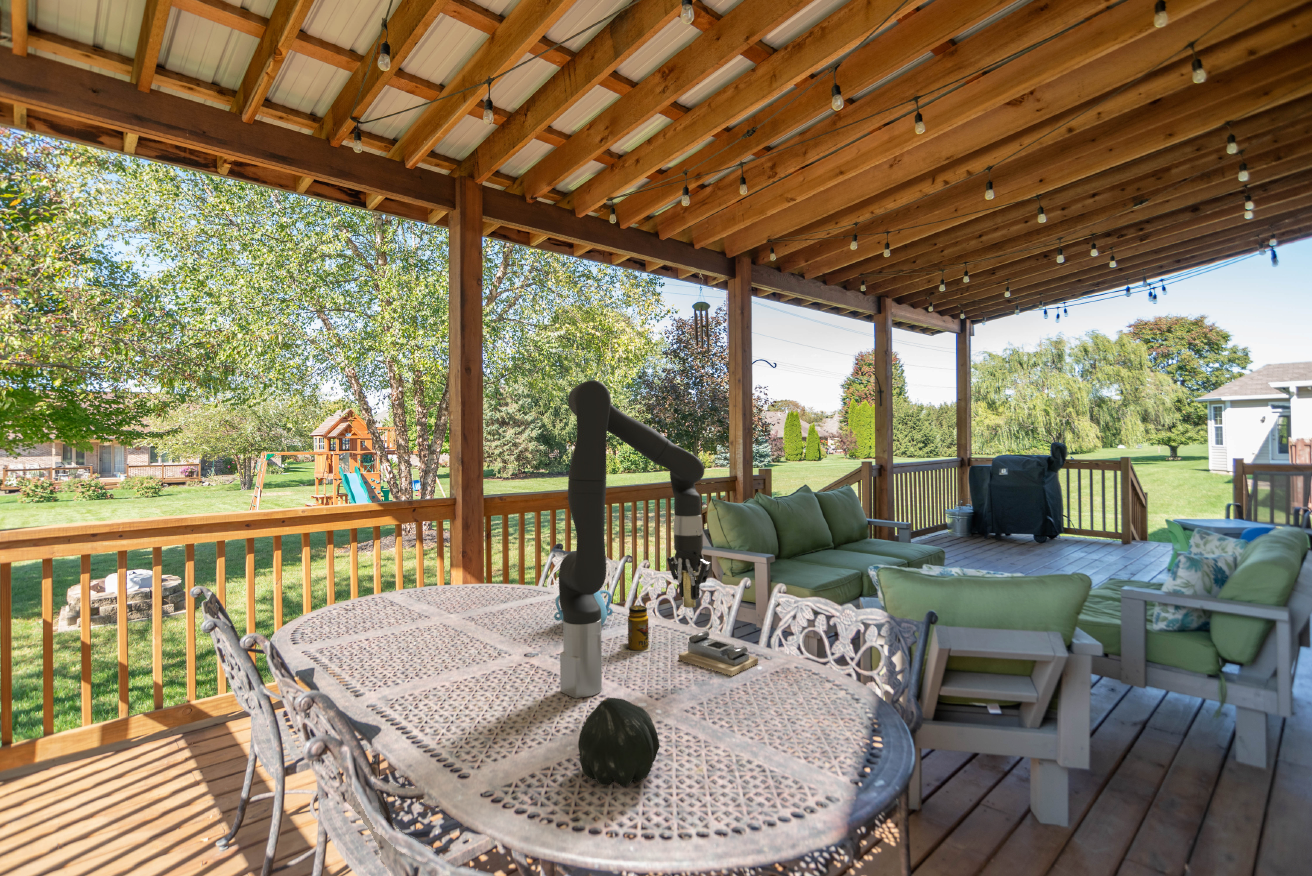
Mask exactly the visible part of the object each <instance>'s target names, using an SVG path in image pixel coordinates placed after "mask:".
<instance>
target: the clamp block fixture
mask: <svg viewBox="0 0 1312 876" xmlns="http://www.w3.org/2000/svg"><path fill="white" fill-rule="evenodd" d="M681 660H682V662H685V663H687V662H689V663H688V664H691V663H692V664H691V665H694V664H695V666H697V665H698V666H697V667H700V666H701V668H703V667H704V669H707V668H710V669H713V670H715V671H714V672H716V671H719V672H722V673H721V674H723V673H724V674H723V675H726V674H728V675H727V676H729V675H730V676H729V677H734V676H736V675H738V674H740V673H741V672H740V671H742V672H744V671H746V670H748V669H750V668H752V667H754V666H756V665H758V664H759V658H758V657H756V656H752V655H750V654H749V653H748V647H747V646H745V645H743V646H741V647H739V648H736V649H735V644H732V643H729V642H725V641H721V640H718V639H715V638H712V637H711V638H710V632H709V631H708V630H705V631H702V632H700V633H696V634H694V635H690V636H689V638H688V641H687V650H686V651H683V652H681V653H679V654H678V661H681ZM757 663H758V664H757ZM755 664H756V665H755ZM753 665H754V666H753ZM751 666H752V667H751ZM749 667H750V668H749ZM747 668H748V669H747ZM710 669H709V670H710ZM745 669H746V670H745ZM713 670H712V671H713ZM743 670H744V671H743ZM719 672H718V673H719ZM739 672H740V673H739ZM737 673H738V674H737ZM735 674H736V675H735ZM733 675H734V676H733Z"/></svg>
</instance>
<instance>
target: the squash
mask: <svg viewBox="0 0 1312 876" xmlns="http://www.w3.org/2000/svg"><path fill="white" fill-rule="evenodd" d="M577 743H578V745H577V747H578V752H579V763H580V767H581V770H582V773H583V774H584V775H585V776H586V777H587V778H589V779H590V780H594V781H595V780H596V781H597V783H598V784H600V785H601V786H610V785H612V784H614V783H615V782H616V784H618V785H619V786H620V787H628V786H629V785H630V784H631V783H632V781H636V782H641V781H643V780H644V779H646V778H647V777H648V776H649V775H650V772H651V770H652V768H653V763H654V762H655V760H656V758H657V754H658V751H659V749H660V740H659V735H658V731H657V729H656V726H655V725H654V723H653V719H652V717H651V716H650V714H649V712H648V711H646V710H645V709H644V708H643V707H640V706H639V705H636V704H633V703H632V702H630V701H628V700H626V699H624V698H618V697H617V698H616V697H609V698H605V699H603V700H602V701H601V702H600V703H599V704H598V705H597V706H596V707H595V709H593V710H592V711H591V712H590V714H589V715H588V716H587V718H586V719H585V722H584V724H583V726H582V727H581V730H580V733H579V738H578V742H577Z"/></svg>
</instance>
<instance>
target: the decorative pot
mask: <svg viewBox="0 0 1312 876" xmlns="http://www.w3.org/2000/svg"><path fill="white" fill-rule="evenodd" d="M602 594H606V595H607V602H606V603H605V600H604V597H603V595H602ZM594 597H595V599H596V601H597V603H598V604H599V606H600V608H601V627H602V626H603V625H604V624H605V622H606V620H607V618H608V617H609V616H611V615H613V613H614V610H613V608H612V607H610V605H611V602H612V594H611V592H610V591H608V590H606V589H600V590H599V591H598V592H596V593H595V594H594ZM554 604H555V606H556V610H557V612H555V613H554V615H553V618H554V620H556V621H559V622H560V621H562V622H563V612H562V610H561V606H560V597H559V594H558V595H557V596H556V597H555V601H554ZM558 615H559V617H558Z"/></svg>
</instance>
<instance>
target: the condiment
mask: <svg viewBox="0 0 1312 876" xmlns="http://www.w3.org/2000/svg"><path fill="white" fill-rule="evenodd" d="M649 634H650V633H649V616H648V607H647V606H645V605H640V604H639V605H638V604H636V605H631V606H630V607H629V608H628V617H627V643H619V645H620V650H621V653H623V654H624V653H643V652H651V651H652V649H651V647H650V644H649V643H650V642H649V641H650V640H649Z"/></svg>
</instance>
